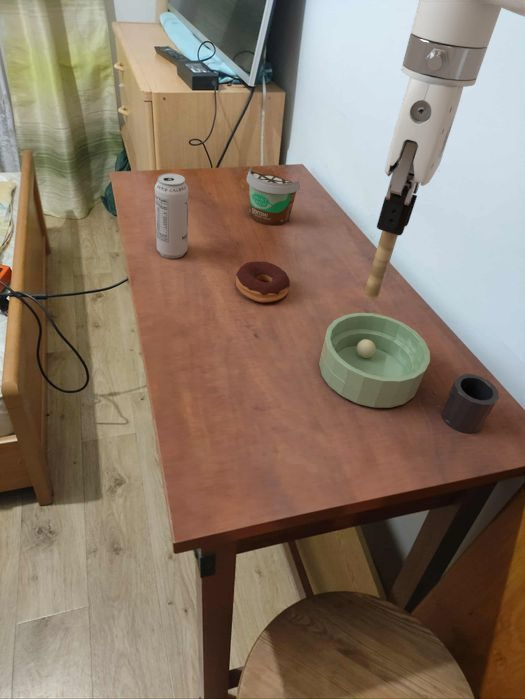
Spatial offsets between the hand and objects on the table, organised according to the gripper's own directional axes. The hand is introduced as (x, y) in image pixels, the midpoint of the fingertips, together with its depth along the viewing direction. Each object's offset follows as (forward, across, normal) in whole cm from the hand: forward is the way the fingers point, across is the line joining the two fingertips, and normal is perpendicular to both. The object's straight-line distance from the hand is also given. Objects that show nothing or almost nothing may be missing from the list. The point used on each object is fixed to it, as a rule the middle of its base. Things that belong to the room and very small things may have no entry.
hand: (392, 226), depth 63 cm
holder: (+25, 0, -18) cm, 31 cm away
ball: (+23, +5, -1) cm, 24 cm away
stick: (+11, 0, 0) cm, 11 cm away
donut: (+26, +13, +21) cm, 36 cm away
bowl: (+25, +2, -3) cm, 25 cm away
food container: (+26, +39, +33) cm, 57 cm away
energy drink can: (+26, +15, +42) cm, 51 cm away
